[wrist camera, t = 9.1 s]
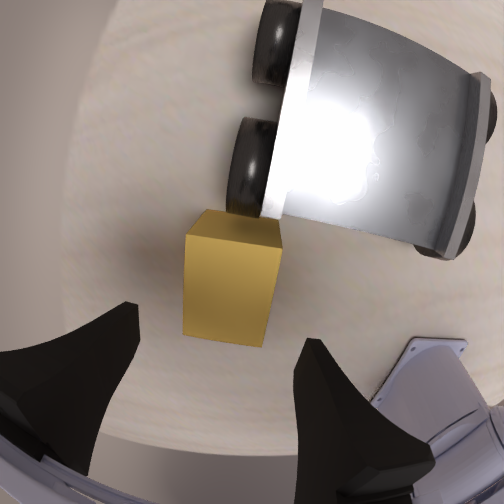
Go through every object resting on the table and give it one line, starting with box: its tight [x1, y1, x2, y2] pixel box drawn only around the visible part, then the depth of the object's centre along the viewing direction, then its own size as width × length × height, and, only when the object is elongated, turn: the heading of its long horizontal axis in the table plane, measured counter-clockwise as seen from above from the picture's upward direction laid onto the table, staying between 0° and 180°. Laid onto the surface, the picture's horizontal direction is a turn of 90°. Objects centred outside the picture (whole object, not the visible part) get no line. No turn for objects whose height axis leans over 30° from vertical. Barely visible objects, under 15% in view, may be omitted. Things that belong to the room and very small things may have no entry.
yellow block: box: [183, 209, 283, 348], centre depth 16 cm, size 6×4×5 cm
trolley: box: [226, 0, 497, 261], centre depth 12 cm, size 12×13×6 cm
